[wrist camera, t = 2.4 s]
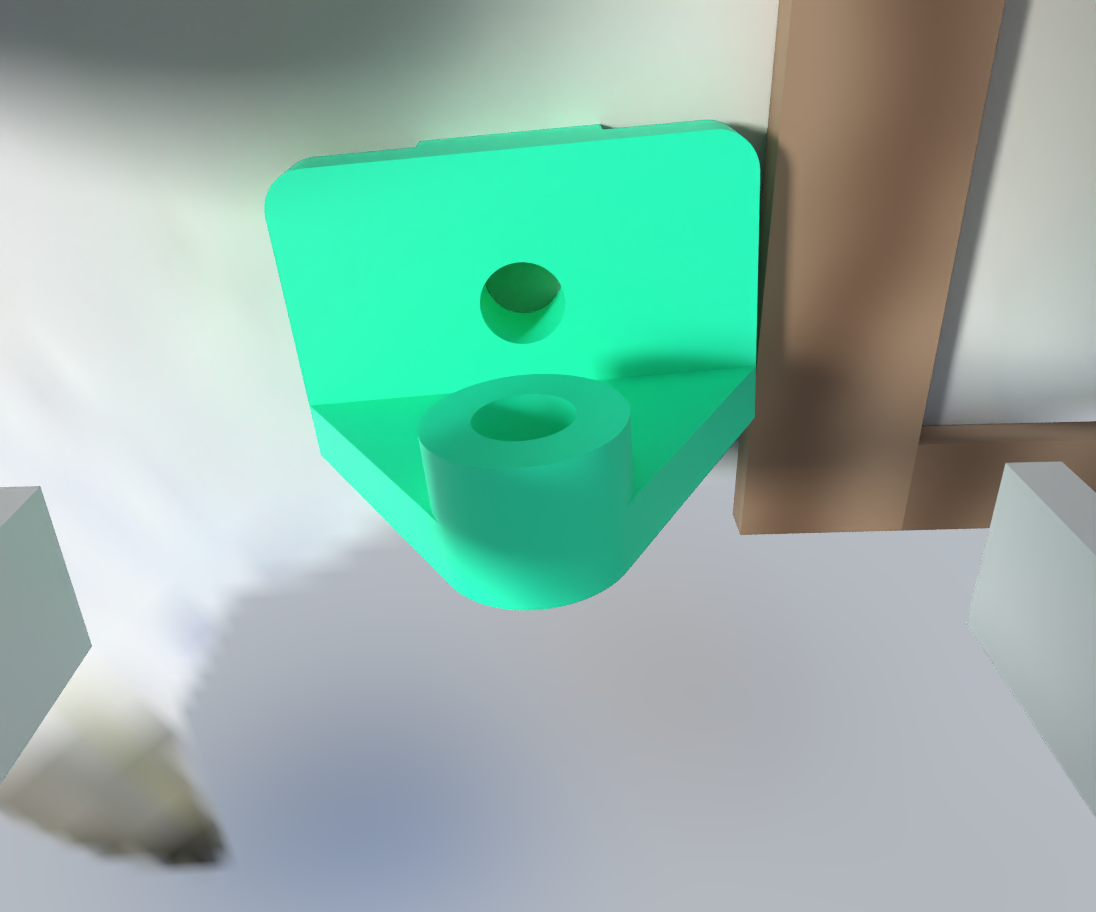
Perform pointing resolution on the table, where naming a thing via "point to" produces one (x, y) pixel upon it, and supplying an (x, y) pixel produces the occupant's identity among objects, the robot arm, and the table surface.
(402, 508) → the camera mount
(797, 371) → the open wooden square frame
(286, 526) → the table surface
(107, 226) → the table surface
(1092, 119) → the table surface
